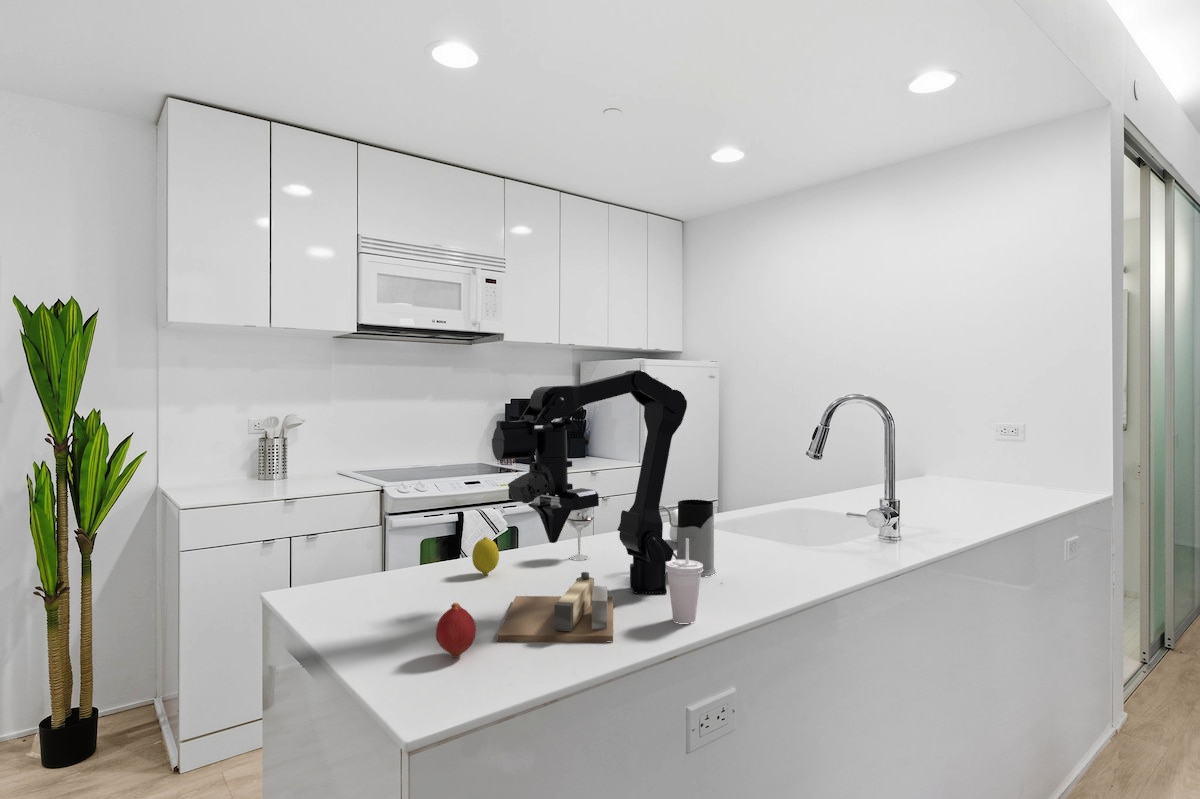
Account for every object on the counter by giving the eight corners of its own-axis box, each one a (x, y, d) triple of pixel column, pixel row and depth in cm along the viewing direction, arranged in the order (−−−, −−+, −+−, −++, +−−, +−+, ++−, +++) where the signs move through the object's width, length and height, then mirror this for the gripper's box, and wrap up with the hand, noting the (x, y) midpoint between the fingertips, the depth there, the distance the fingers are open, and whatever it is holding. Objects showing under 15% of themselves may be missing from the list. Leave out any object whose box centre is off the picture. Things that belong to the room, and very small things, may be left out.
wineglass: (576, 552, 163) (576, 503, 163) (599, 557, 159) (599, 505, 159) (558, 558, 158) (558, 506, 158) (581, 563, 154) (581, 509, 154)
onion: (439, 649, 103) (439, 596, 103) (477, 648, 103) (477, 595, 103) (433, 664, 97) (432, 608, 97) (474, 663, 97) (473, 607, 97)
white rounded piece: (702, 551, 165) (702, 514, 165) (657, 545, 171) (657, 510, 171) (718, 542, 175) (719, 507, 175) (676, 537, 181) (676, 503, 181)
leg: (578, 598, 124) (578, 576, 124) (595, 599, 123) (595, 577, 123) (552, 630, 107) (552, 604, 107) (572, 631, 107) (572, 606, 106)
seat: (613, 602, 126) (613, 567, 125) (613, 642, 106) (613, 601, 105) (515, 601, 126) (515, 566, 126) (497, 641, 106) (497, 600, 106)
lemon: (493, 579, 141) (493, 540, 141) (468, 577, 142) (468, 539, 142) (502, 572, 146) (502, 535, 146) (478, 570, 147) (478, 533, 147)
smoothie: (693, 630, 111) (693, 544, 111) (658, 623, 114) (658, 539, 114) (709, 618, 116) (709, 537, 116) (675, 612, 120) (675, 532, 120)
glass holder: (710, 579, 141) (711, 506, 140) (645, 572, 146) (645, 502, 146) (719, 569, 149) (719, 500, 148) (657, 563, 154) (657, 496, 154)
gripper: (483, 457, 123) (485, 542, 124) (551, 464, 110) (553, 560, 111) (531, 451, 131) (533, 532, 132) (600, 457, 118) (601, 547, 119)
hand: (553, 542), depth 123 cm, fingers closed
